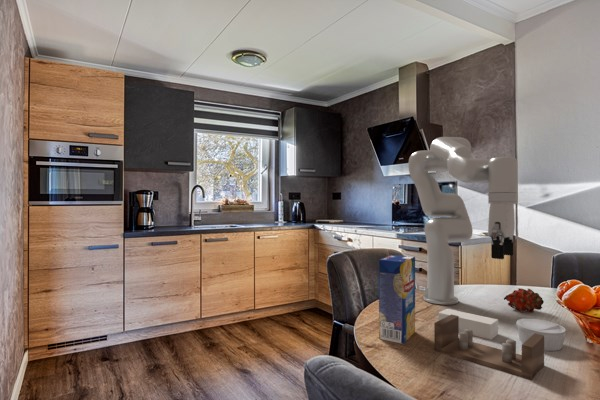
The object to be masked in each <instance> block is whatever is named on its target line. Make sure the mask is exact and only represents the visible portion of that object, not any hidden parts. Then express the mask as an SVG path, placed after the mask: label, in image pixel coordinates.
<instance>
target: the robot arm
mask: <svg viewBox="0 0 600 400" xmlns="http://www.w3.org/2000/svg"><path fill="white" fill-rule="evenodd" d="M429 147H430V148H429V150H425V149H424V150H417V151H415V152H413V153H412V154H411V155H410V156H409V158H408V163H407V164H408V172H409V173H408V174H409V175H410V178H411V180H412V182H413V184H414V186H415V188H416V191H417V194H418V199H419V202H420V206H421V208H422V212H423V213H424V215H425V216H427V217H430V218H431V219H429V220H428V221H426V223H425V225H424V235H425V240H426V249H427V250H426V251H427V252H426V253H427V254H426V255H427V257H426V258H427V259H426V262H427V264H426V265H427V268H426V269H427V270H426V274H427V275H426V276H427V279H426V280H427V282H426V284H427V286H423V285H419V286H418V292H419V293H424V295H422V299H423V301H425V302H427V303H430V304H434V305H442V306H443V305H444V306H447V305H448V306H449V305H456V304H458V303H459V298H458V297H457V296H455V254H454V251H453V249H452V248H451V246H450V245H449V244H451V243H465V242H468V241H470V240H471V239H472V236H473V226H472V221H471V219H470V216H469V214H468V211H467V210H468V209H467V208H466V204H465V202H464V200H463V198H462V197H461V196H460V195H459V194H457V193H453V192H451V193H450V192H449V193H448V192H445V193H444V192H443V191H441V188H440V184H439V183H438V181H437V180H436V178H435V177H434V176H433V175H432V174H430V173H429V172H445V173H446V172H448V173H449V175H450V176H452V177H453V178H455V179H456V180H458V181H460V182H463V183H468V184H469V183H470V184H475V183H476V184H477V183H478V184H479V183H480V184H481V183H483V184H488V187H487V188H488V195H487V196H488V199H487V200H488V205H489V204H490V205H489V210H488V211H489V212H488V230H487V236H488V237H490V239H491V242H490V243H491V245H490V246H491V249H490V250H491V254H490V255H491V259H495V260H504V259H505V256H514V235H515V224H516V223H515V205H517V204H518V160H517V158H516V157H514V156H496V157H492V158H489V159H488V158H487V159H486V158H472V145H471V142H470V141H469V140H468V139H467V138H466V137H465V138H464V137H462V136H461V137H459V136H458V137H457V136H439V137H436V138H435V139H434V140H432V142H431V143H430V146H429Z"/></svg>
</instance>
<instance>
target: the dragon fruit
mask: <svg viewBox="0 0 600 400" xmlns="http://www.w3.org/2000/svg"><path fill="white" fill-rule="evenodd" d="M503 300H506V301H507V302H508V303H507V306H509V307H510V308H512V309H516V310H517V311H520V312H521V313H525V312H529V313H534V310H537V311H539V310H540V311H541V309H543V306H542V305H543V304H544V302H545V301H544V300H543V297H541V295H540V294H539V293H538V292H534V291H533V290H532V289H531V288H527V290H526V289H524V288H517V290H513V291H512V292H511V293H509V294H507V295H505V296H504V297H503Z"/></svg>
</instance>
